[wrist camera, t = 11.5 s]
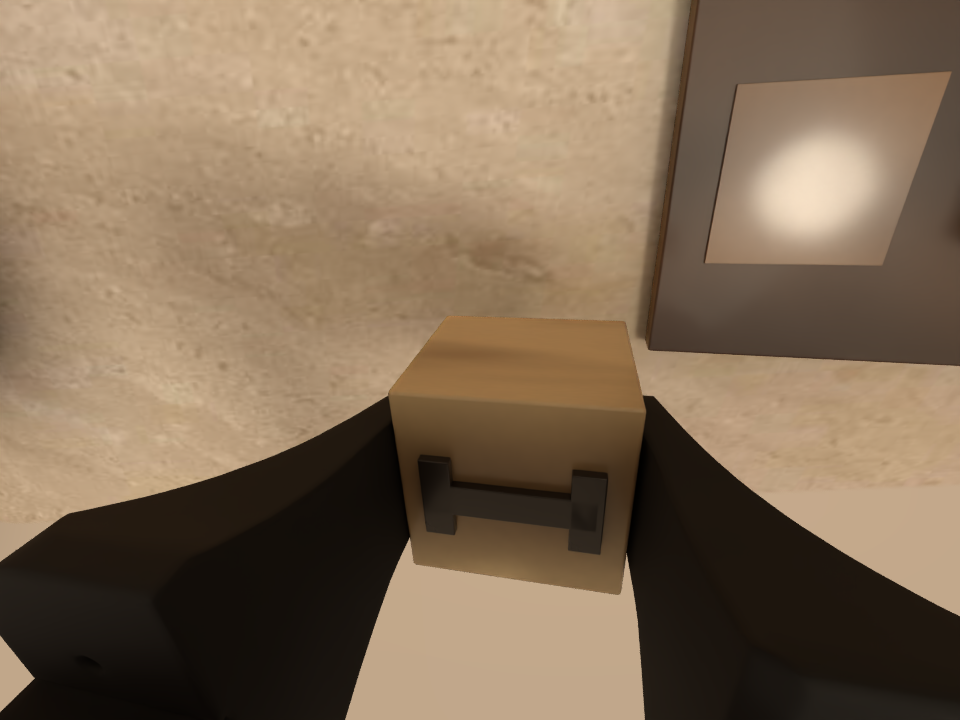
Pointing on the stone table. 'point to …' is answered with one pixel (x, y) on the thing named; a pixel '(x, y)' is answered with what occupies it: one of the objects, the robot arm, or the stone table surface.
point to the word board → (814, 183)
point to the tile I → (521, 449)
